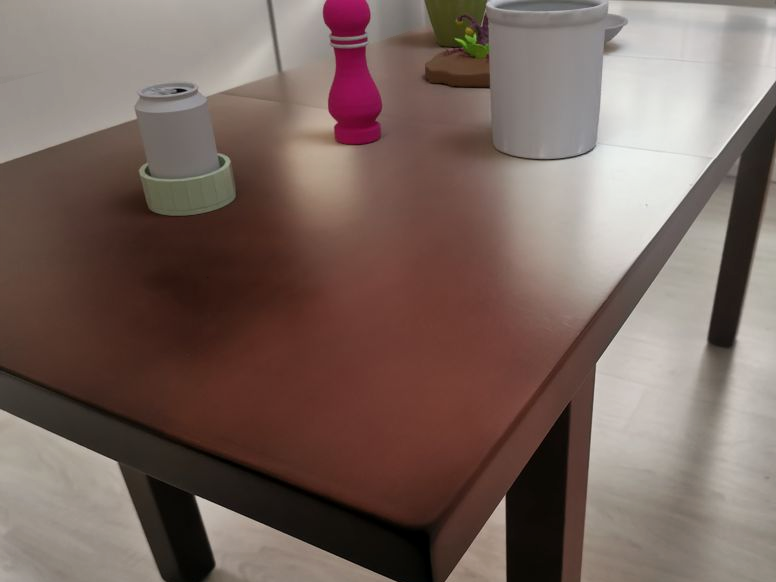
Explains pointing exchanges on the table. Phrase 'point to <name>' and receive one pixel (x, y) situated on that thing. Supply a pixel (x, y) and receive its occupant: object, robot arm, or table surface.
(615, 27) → the dish
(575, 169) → the table surface
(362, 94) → the pepper mill
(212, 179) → the ramekin
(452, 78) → the plant
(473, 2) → the flower pot
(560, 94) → the utensil holder
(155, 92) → the can
